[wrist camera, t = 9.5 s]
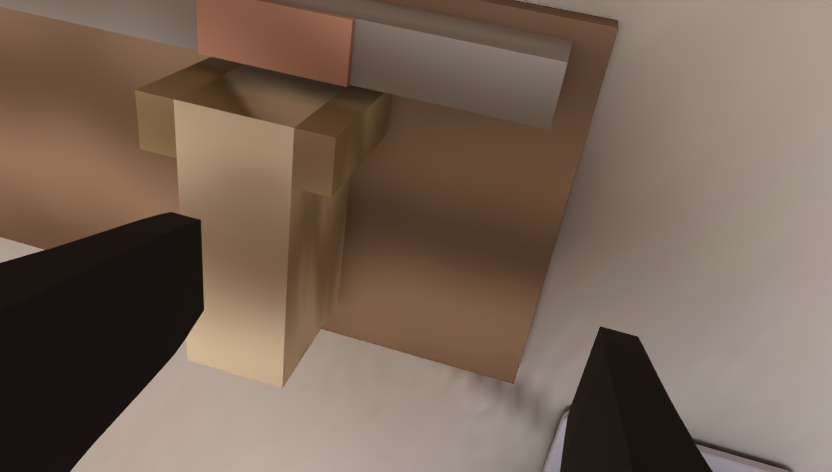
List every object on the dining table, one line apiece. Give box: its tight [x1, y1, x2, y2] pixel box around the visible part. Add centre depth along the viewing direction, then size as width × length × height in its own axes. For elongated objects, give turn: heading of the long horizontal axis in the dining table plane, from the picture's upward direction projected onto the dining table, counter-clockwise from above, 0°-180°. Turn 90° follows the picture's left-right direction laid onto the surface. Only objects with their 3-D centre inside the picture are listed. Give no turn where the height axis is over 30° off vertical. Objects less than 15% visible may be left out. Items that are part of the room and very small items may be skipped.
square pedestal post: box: [135, 57, 392, 388], centre depth 19 cm, size 8×5×4 cm, turn 172°
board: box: [0, 0, 618, 384], centre depth 20 cm, size 12×28×4 cm, turn 82°
